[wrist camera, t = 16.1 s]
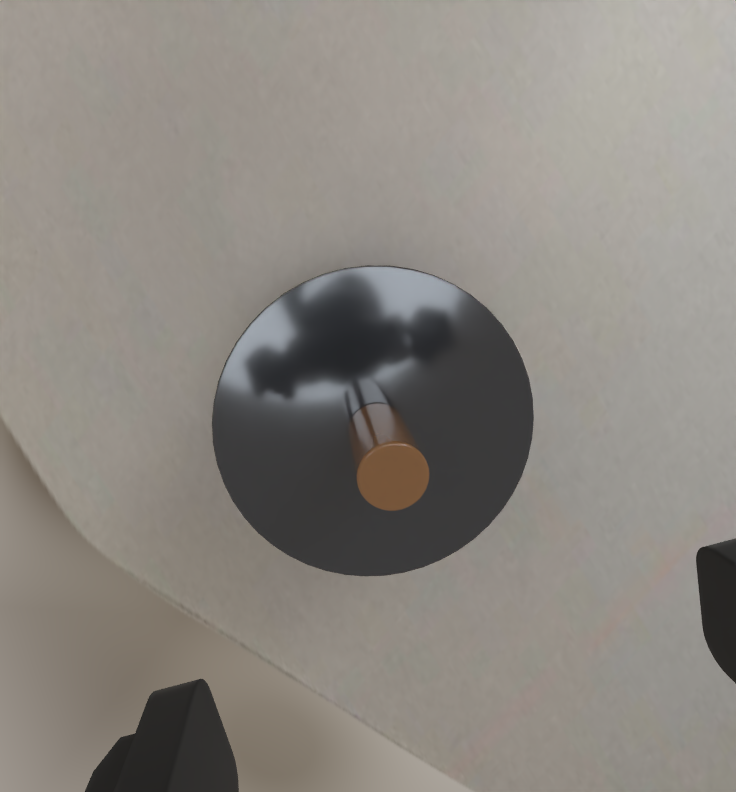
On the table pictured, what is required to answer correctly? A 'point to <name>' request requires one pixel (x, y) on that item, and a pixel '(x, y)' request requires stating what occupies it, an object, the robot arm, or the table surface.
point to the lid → (372, 420)
